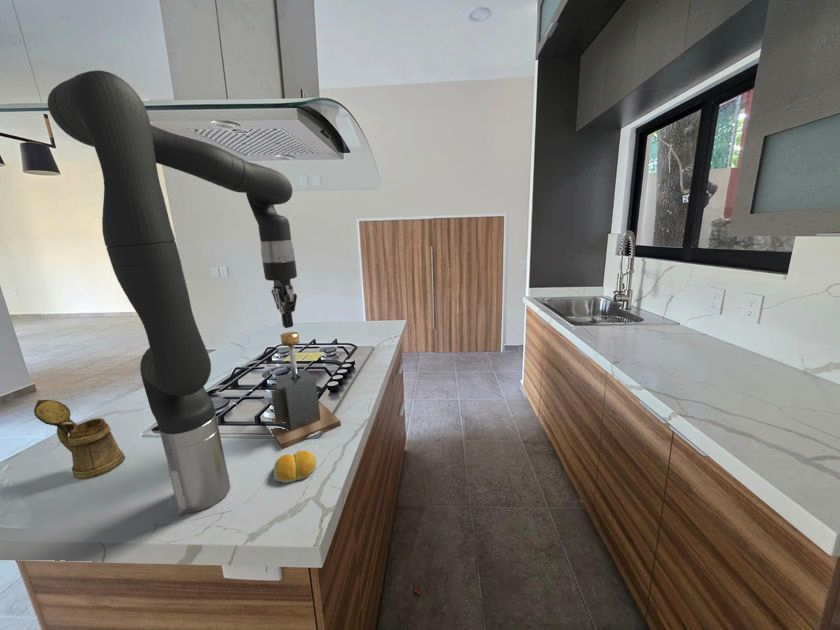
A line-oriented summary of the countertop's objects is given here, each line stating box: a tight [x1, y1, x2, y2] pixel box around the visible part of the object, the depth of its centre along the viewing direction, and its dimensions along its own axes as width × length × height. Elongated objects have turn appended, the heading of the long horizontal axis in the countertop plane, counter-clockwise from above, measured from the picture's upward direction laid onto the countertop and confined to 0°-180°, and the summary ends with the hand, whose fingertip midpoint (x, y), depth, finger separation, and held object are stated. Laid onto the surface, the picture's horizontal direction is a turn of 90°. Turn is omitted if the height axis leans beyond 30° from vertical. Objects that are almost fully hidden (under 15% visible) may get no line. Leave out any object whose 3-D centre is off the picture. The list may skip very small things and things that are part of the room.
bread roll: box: [273, 450, 317, 484], centre depth 77 cm, size 8×9×4 cm
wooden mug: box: [33, 399, 126, 480], centre depth 79 cm, size 9×14×18 cm, turn 93°
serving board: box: [271, 400, 342, 450], centre depth 96 cm, size 16×16×2 cm
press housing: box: [270, 369, 321, 431], centre depth 93 cm, size 10×8×13 cm
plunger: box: [280, 331, 300, 380], centre depth 91 cm, size 6×6×14 cm
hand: (288, 326), depth 89 cm, fingers closed
